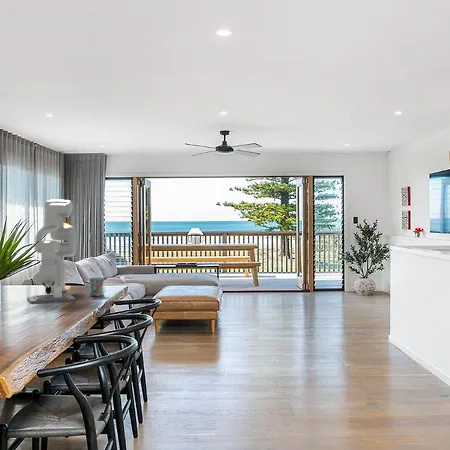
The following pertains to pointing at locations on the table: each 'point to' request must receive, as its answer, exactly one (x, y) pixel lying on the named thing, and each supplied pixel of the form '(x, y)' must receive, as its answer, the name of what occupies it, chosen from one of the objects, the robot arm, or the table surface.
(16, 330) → the table surface
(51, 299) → the switch bank
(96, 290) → the mug
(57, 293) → the tab
